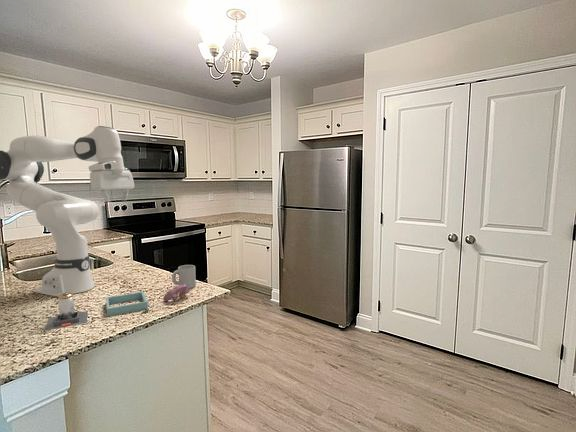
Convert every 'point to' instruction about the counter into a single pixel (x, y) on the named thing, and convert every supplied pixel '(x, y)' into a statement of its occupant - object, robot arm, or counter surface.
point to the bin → (130, 307)
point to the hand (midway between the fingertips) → (116, 200)
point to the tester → (66, 321)
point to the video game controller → (177, 292)
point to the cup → (185, 276)
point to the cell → (66, 306)
